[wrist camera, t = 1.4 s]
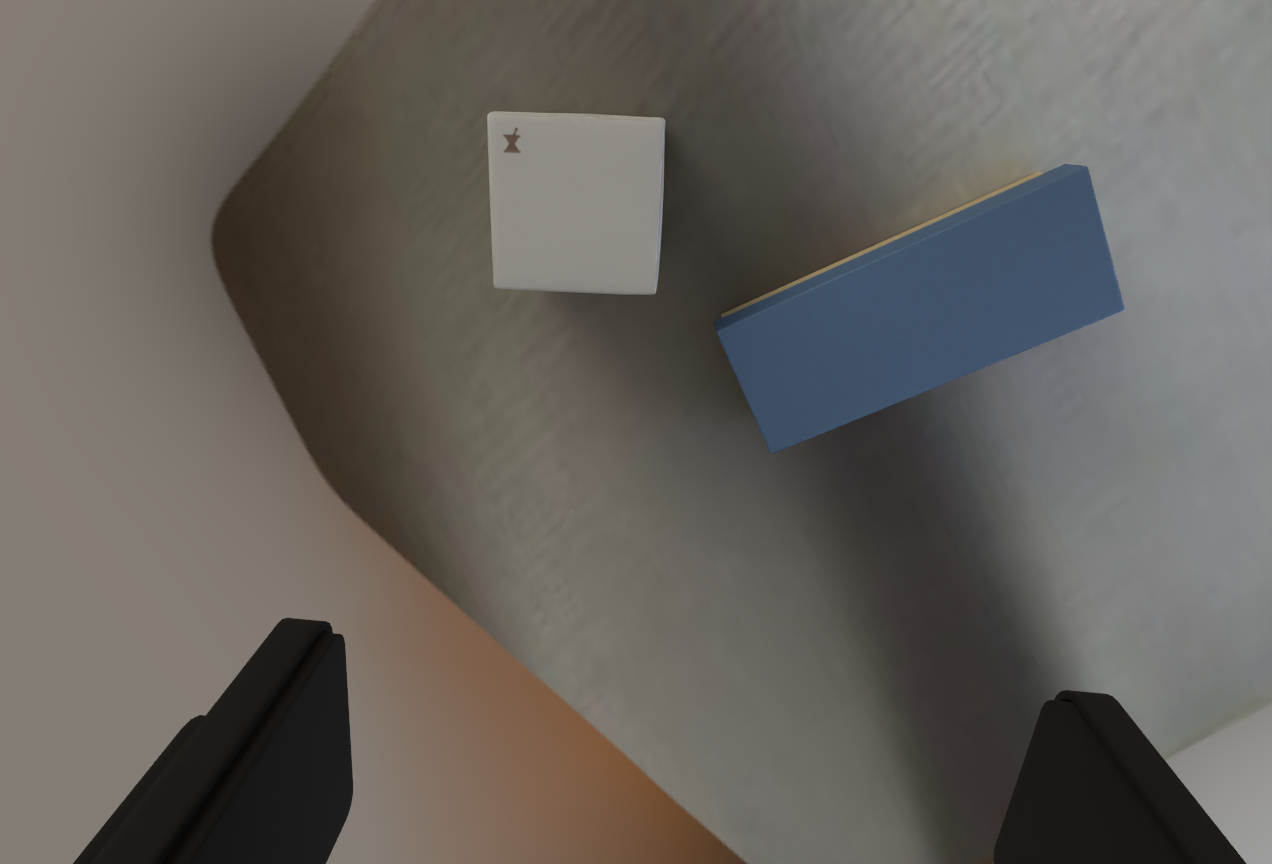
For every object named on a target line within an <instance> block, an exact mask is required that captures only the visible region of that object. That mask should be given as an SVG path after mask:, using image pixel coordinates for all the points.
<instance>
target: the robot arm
mask: <svg viewBox="0 0 1272 864" xmlns="http://www.w3.org/2000/svg"><path fill="white" fill-rule="evenodd" d="M350 743H351V741H350V724H349V707H348V689H347V672H346V653H345V642H344V638H343V636H342V635H341V634H333V632H332V627H331V625H330V623H328V622H326V621H314V620H303V619H293V618H285V619H282V620H281V621H280V622H279V623H278V624H277V625H276V627H275V628H274V629H273V630H272V632H271V633H270V634H269V636H268V637H267V638H266V639H265V641H264V642H263V643H262V644H261V646H260V647H259V648H258V650H257V651H256V652H255V654H254V655H253V656H252V657H251V658H250V660H249V661H248V662H247V664H246V665H245V666H244V667H243V669H242V670H241V671H240V673H239V674H238V675H237V676H236V678H235V679H234V680H233V681H232V683H231V684H230V685H229V687H228V688H227V689H226V690H225V692H224V693H223V694H222V696H221V697H220V698H219V700H218V701H217V702H216V703H215V705H214V706H213V707H212V708H211V710H210V711H209V712H208V713H207V715H206V716H202V715H199V716H197V717H195V718H193V719H191V720H190V721H189V722H188V723H187V724H186V725H185V726H184V727H183V728H182V729H181V730H180V731H179V733H178V734H177V735H176V737H175V738H174V739H173V740H172V741H171V743H170V744H169V745H168V747H167V748H166V749H165V750H164V752H163V753H162V754H161V755H160V756H159V757H158V759H157V760H156V761H155V762H154V764H153V765H152V766H151V767H150V769H149V770H148V771H147V772H146V774H145V775H144V776H143V777H142V779H141V780H140V781H139V782H138V784H137V785H136V786H135V787H134V789H133V790H132V791H131V792H130V794H129V795H128V796H127V797H126V799H125V800H124V801H123V802H122V803H121V805H120V806H119V807H118V808H117V810H116V811H115V812H114V813H113V815H112V816H111V817H110V818H109V819H108V821H107V822H106V823H105V825H104V826H103V827H102V828H101V829H100V831H99V832H98V833H97V835H96V836H95V837H94V838H93V839H92V841H91V842H90V843H89V844H88V846H87V847H86V848H85V849H84V850H83V852H82V853H81V855H80V856H79V857H78V858H77V859H76V860H75V862H74V863H73V864H326V862H327V860H328V858H329V856H330V853H331V851H332V849H333V847H334V845H335V843H336V840H337V838H338V836H339V834H340V832H341V830H342V827H343V825H344V823H345V821H346V819H347V816H348V813H349V810H350V806H351V802H352V796H353V778H352V760H351V744H350ZM994 864H1246V863H1245V861H1244V860H1243V859H1242V858H1241V856H1240V855H1239V854H1238V853H1237V851H1236V850H1235V849H1234V847H1233V846H1232V845H1231V844H1230V842H1229V841H1228V840H1227V839H1226V837H1225V836H1224V835H1223V834H1222V832H1221V831H1220V830H1219V829H1218V827H1217V826H1216V825H1215V824H1214V822H1213V821H1212V820H1211V818H1210V817H1209V816H1208V815H1207V813H1206V812H1205V811H1204V810H1203V808H1202V807H1201V806H1200V804H1199V803H1198V802H1197V801H1196V799H1195V798H1194V797H1193V796H1192V794H1191V793H1190V792H1189V791H1188V789H1187V788H1186V787H1185V786H1184V784H1183V783H1182V782H1181V781H1180V779H1179V778H1178V777H1177V775H1176V774H1175V773H1174V772H1173V770H1172V769H1171V768H1170V767H1169V765H1168V764H1167V763H1166V762H1165V760H1164V759H1163V758H1162V756H1161V755H1160V754H1159V753H1158V751H1157V750H1156V749H1155V748H1154V746H1153V745H1152V744H1151V743H1150V741H1149V740H1148V739H1147V738H1146V736H1145V735H1144V734H1143V733H1142V731H1141V730H1140V729H1139V727H1138V726H1137V725H1136V724H1135V722H1134V721H1133V720H1132V719H1131V717H1130V716H1129V715H1128V714H1127V712H1126V711H1125V710H1124V709H1123V707H1122V706H1121V705H1120V703H1119V702H1118V701H1117V700H1116V699H1115V698H1114V697H1113V696H1110V695H1108V694H1101V693H1090V692H1079V691H1069V690H1065V691H1061V692H1060V693H1059V694H1058V695H1057V696H1056V698H1055V700H1049V701H1047V702H1046V703H1044V705H1043V707H1042V709H1041V712H1040V715H1039V718H1038V721H1037V724H1036V727H1035V730H1034V733H1033V736H1032V739H1031V742H1030V744H1029V747H1028V750H1027V753H1026V756H1025V759H1024V762H1023V765H1022V768H1021V771H1020V774H1019V777H1018V780H1017V783H1016V786H1015V789H1014V792H1013V795H1012V798H1011V801H1010V804H1009V807H1008V810H1007V813H1006V816H1005V819H1004V822H1003V824H1002V827H1001V830H1000V833H999V836H998V839H997V842H996V845H995V849H994Z"/></svg>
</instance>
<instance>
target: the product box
mask: <svg viewBox="0 0 1272 864" xmlns="http://www.w3.org/2000/svg"><path fill="white" fill-rule="evenodd" d="M487 128H488V154H489V184H490V210H491V233H492V258H493V282H494V286H495V288H498V289H515V290H533V291H553V292H577V293H601V294H638V295H653V294H655V293H656V290H657V283H658V273H659V260H660V246H661V231H662V211H663V190H664V145H665V120H664V119H663V118H659V117H634V116H619V115H602V114H574V113H530V112H491V113H489V114H488V116H487Z"/></svg>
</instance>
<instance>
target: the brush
mask: <svg viewBox="0 0 1272 864" xmlns="http://www.w3.org/2000/svg"><path fill="white" fill-rule="evenodd" d="M1124 310H1125V307H1124V304H1123V300H1122V296H1121V292H1120V289H1119V285H1118V281H1117V277H1116V273H1115V270H1114V266H1113V262H1112V258H1111V254H1110V251H1109V247H1108V243H1107V239H1106V236H1105V232H1104V228H1103V224H1102V220H1101V217H1100V213H1099V209H1098V205H1097V202H1096V198H1095V194H1094V190H1093V186H1092V183H1091V179H1090V175H1089V171H1088V168H1087V166H1080V165H1069V164H1064V165H1062V166H1059V167H1057V168H1055V169H1053V170H1050V171H1048V172H1046V173H1042V172H1036V173H1034V174H1032V175H1029V176H1027V177H1025V178H1023V179H1021V180H1018V181H1016V182H1014V183H1012V184H1009V185H1007V186H1005V187H1003V188H1001V189H998V190H996V191H994V192H992V193H989V194H987V195H985V196H983V197H981V198H978V199H976V200H974V201H972V202H969V203H967V204H965V205H963V206H961V207H958V208H956V209H954V210H952V211H949V212H947V213H945V214H943V215H940V216H938V217H936V218H934V219H932V220H929V221H927V222H925V223H923V224H920V225H918V226H916V227H914V228H912V229H909V230H907V231H905V232H903V233H900V234H898V235H896V236H894V237H892V238H889V239H887V240H885V241H883V242H880V243H878V244H876V245H874V246H872V247H869V248H867V249H865V250H863V251H860V252H858V253H856V254H854V255H852V256H849V257H847V258H845V259H843V260H840V261H838V262H836V263H834V264H832V265H829V266H827V267H825V268H823V269H820V270H818V271H816V272H814V273H812V274H809V275H807V276H805V277H803V278H800V279H798V280H796V281H794V282H792V283H789V284H787V285H785V286H783V287H780V288H778V289H776V290H774V291H772V292H769V293H767V294H765V295H763V296H760V297H758V298H756V299H754V300H752V301H749V302H747V303H745V304H743V305H740V306H738V307H736V308H734V309H732V310H729V311H727V312H725V313H723V314H721V319H718V320H716V321H715V322H714V324H715V328H716V333H717V335H718V337H719V339H720V342H721V344H722V346H723V348H724V351H725V353H726V355H727V357H728V359H729V362H730V364H731V366H732V368H733V371H734V373H735V375H736V377H737V380H738V382H739V384H740V386H741V389H742V391H743V393H744V395H745V397H746V400H747V402H748V404H749V406H750V409H751V411H752V413H753V415H754V418H755V420H756V422H757V424H758V427H759V429H760V431H761V433H762V435H763V438H764V440H765V442H766V444H767V447H768V449H769V451H770V453H771V454H773V453H775V452H778V451H780V450H783V449H785V448H788V447H790V446H793V445H795V444H797V443H800V442H802V441H805V440H807V439H810V438H812V437H815V436H817V435H820V434H822V433H824V432H827V431H829V430H832V429H834V428H837V427H839V426H842V425H844V424H847V423H849V422H851V421H854V420H856V419H859V418H861V417H864V416H866V415H869V414H871V413H873V412H876V411H878V410H881V409H883V408H886V407H888V406H891V405H893V404H896V403H898V402H900V401H903V400H905V399H908V398H910V397H913V396H915V395H918V394H920V393H923V392H925V391H927V390H930V389H932V388H935V387H937V386H940V385H942V384H945V383H947V382H950V381H952V380H954V379H957V378H959V377H962V376H964V375H967V374H969V373H972V372H974V371H976V370H979V369H981V368H984V367H986V366H989V365H991V364H994V363H996V362H999V361H1001V360H1003V359H1006V358H1008V357H1011V356H1013V355H1016V354H1018V353H1021V352H1023V351H1026V350H1028V349H1030V348H1033V347H1035V346H1038V345H1040V344H1043V343H1045V342H1048V341H1050V340H1053V339H1055V338H1057V337H1060V336H1062V335H1065V334H1067V333H1070V332H1072V331H1075V330H1077V329H1079V328H1082V327H1084V326H1087V325H1089V324H1092V323H1094V322H1097V321H1099V320H1102V319H1104V318H1106V317H1109V316H1111V315H1114V314H1116V313H1119V312H1121V311H1124Z"/></svg>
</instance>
